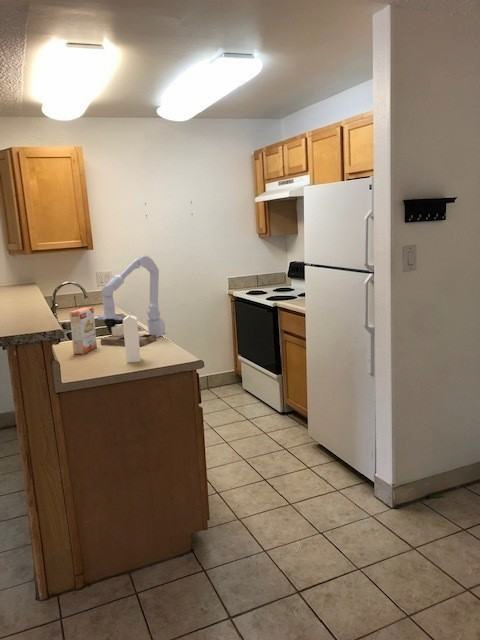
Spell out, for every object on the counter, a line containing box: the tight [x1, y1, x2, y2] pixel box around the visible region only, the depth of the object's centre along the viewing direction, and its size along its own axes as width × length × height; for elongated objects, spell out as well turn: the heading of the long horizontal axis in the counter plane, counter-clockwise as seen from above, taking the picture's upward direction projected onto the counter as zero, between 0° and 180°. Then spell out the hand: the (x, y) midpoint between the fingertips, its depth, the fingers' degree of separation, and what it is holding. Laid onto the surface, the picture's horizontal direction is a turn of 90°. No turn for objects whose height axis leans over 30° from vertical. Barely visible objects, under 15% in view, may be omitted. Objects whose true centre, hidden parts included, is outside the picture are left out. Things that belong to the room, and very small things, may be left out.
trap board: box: [100, 333, 157, 348], centre depth 276 cm, size 15×24×3 cm, turn 66°
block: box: [111, 325, 124, 336], centre depth 282 cm, size 4×4×4 cm
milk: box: [122, 311, 142, 363], centre depth 236 cm, size 6×6×22 cm
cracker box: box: [69, 306, 98, 355], centre depth 261 cm, size 14×6×21 cm, turn 168°
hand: (111, 333), depth 284 cm, fingers closed
